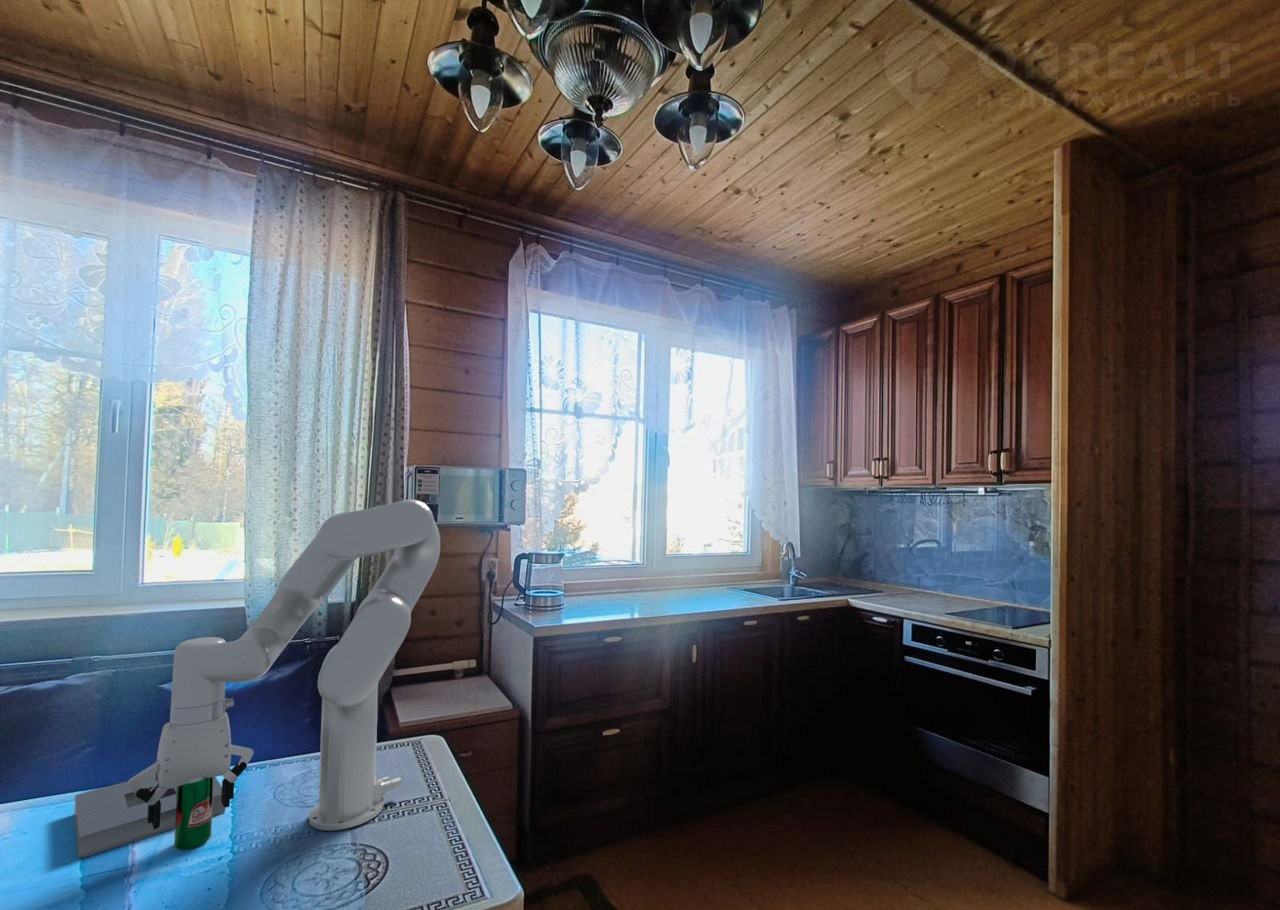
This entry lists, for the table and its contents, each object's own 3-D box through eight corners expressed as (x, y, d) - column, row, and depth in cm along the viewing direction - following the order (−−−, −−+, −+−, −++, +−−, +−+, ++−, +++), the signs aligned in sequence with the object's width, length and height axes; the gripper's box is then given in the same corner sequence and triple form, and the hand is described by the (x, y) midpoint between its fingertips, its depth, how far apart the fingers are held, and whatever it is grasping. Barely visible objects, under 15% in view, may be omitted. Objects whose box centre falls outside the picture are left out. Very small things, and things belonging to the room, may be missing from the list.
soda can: (191, 853, 98) (194, 778, 99) (166, 850, 99) (169, 776, 100) (218, 836, 103) (221, 765, 104) (194, 833, 104) (197, 763, 105)
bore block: (204, 777, 125) (205, 760, 125) (224, 812, 111) (225, 793, 111) (74, 814, 111) (75, 795, 111) (78, 859, 97) (79, 837, 97)
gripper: (250, 695, 112) (245, 790, 110) (130, 719, 99) (122, 825, 98) (260, 705, 106) (255, 804, 105) (134, 731, 94) (127, 844, 93)
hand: (191, 814), depth 101 cm, fingers open, 9 cm apart
